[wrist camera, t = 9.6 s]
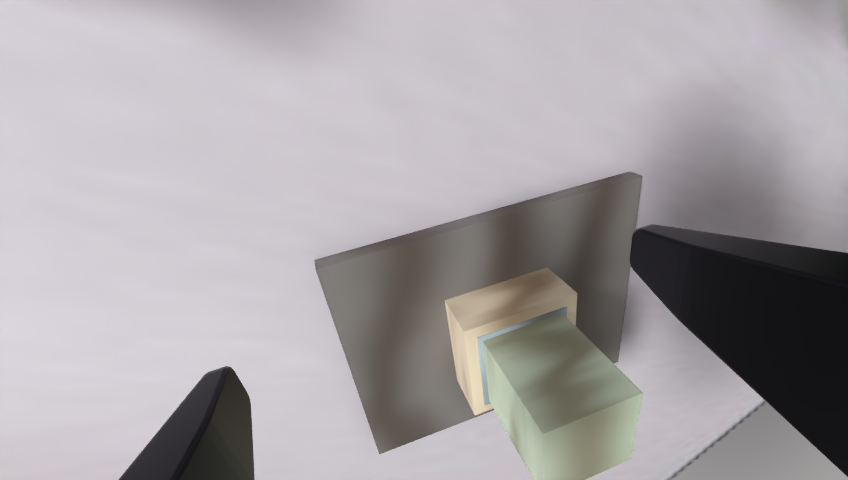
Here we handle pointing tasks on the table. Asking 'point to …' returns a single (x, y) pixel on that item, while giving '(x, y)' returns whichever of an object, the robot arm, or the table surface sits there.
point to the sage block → (561, 400)
